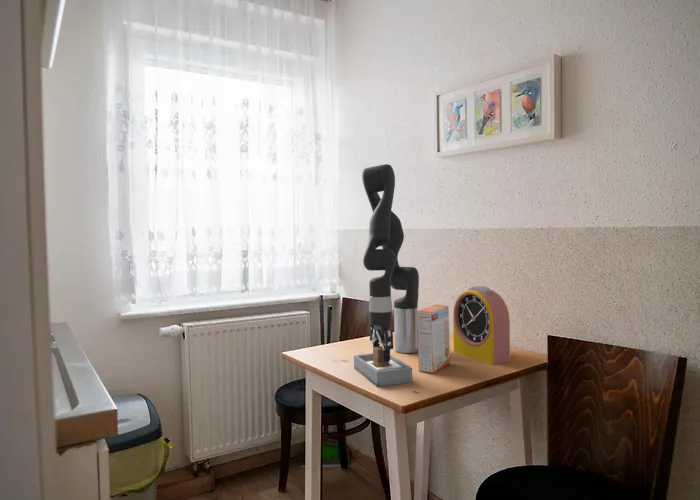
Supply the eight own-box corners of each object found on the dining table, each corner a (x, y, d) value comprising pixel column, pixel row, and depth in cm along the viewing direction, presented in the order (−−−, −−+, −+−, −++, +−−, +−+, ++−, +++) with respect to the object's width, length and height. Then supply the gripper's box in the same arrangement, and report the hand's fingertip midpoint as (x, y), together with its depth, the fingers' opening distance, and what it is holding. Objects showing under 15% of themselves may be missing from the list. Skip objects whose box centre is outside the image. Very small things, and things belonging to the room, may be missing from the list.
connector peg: (384, 369, 159) (383, 345, 158) (389, 372, 155) (388, 348, 154) (373, 370, 157) (373, 347, 157) (378, 374, 153) (377, 349, 153)
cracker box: (435, 361, 170) (434, 304, 170) (450, 363, 167) (449, 305, 166) (417, 371, 159) (416, 309, 158) (433, 374, 156) (432, 311, 155)
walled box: (385, 364, 168) (385, 351, 168) (412, 381, 148) (412, 367, 148) (354, 368, 164) (353, 355, 164) (377, 386, 144) (376, 372, 144)
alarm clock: (452, 351, 183) (452, 284, 182) (470, 348, 188) (470, 282, 186) (492, 364, 165) (491, 289, 164) (511, 360, 169) (510, 287, 168)
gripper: (400, 312, 150) (401, 362, 150) (382, 305, 163) (383, 351, 164) (378, 313, 147) (379, 365, 148) (362, 307, 161) (363, 354, 161)
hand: (381, 358), depth 156 cm, fingers open, 8 cm apart
